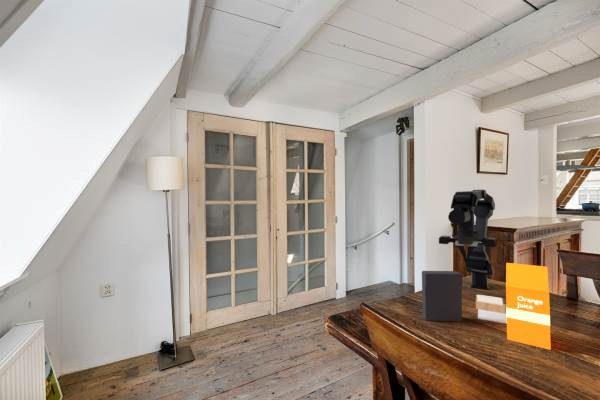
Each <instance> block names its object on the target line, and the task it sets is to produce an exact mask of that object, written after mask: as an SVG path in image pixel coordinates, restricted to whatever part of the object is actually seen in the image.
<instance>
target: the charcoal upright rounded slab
mask: <svg viewBox="0 0 600 400" xmlns="http://www.w3.org/2000/svg"><path fill="white" fill-rule="evenodd" d="M462 288H463V274H462V273H460V272H459V271H457V270H422V271H421V296H422V297H421V299H422V300H421V302H422V317H423V318H424V320H425V321H428V322H429V321H433V322H434V321H435V322H437V321H438V322H462V321H463V301H462V300H463V298H462V296H463V295H462V293H463V292H462V290H463V289H462Z"/></svg>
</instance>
